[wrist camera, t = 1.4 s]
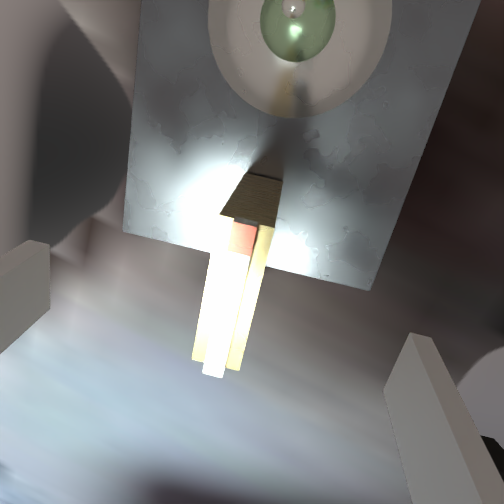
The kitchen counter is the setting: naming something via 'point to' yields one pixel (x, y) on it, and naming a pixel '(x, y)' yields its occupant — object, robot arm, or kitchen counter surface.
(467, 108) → the kitchen counter surface
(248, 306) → the yellow white layered bar
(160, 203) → the base plate
